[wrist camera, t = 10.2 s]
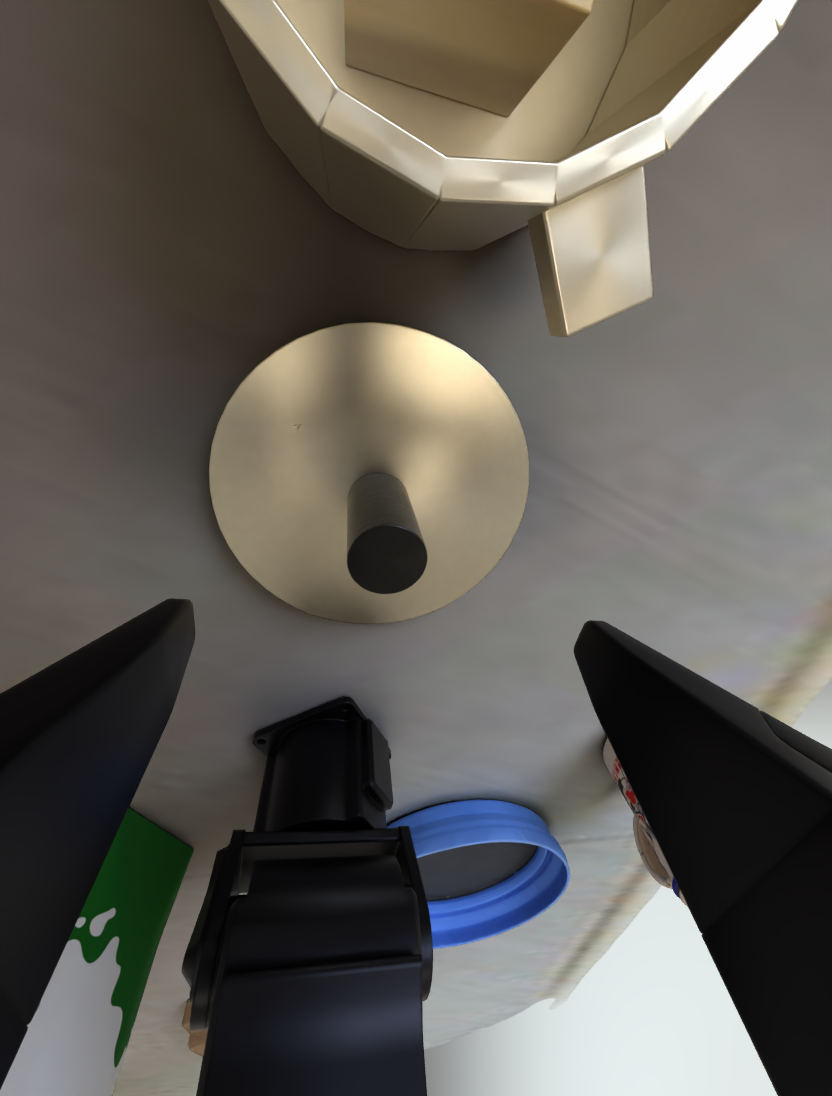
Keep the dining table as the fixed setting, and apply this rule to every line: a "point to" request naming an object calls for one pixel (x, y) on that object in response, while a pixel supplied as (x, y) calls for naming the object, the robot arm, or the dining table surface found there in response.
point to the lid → (369, 472)
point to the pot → (504, 135)
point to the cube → (462, 44)
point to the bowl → (484, 867)
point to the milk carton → (102, 969)
